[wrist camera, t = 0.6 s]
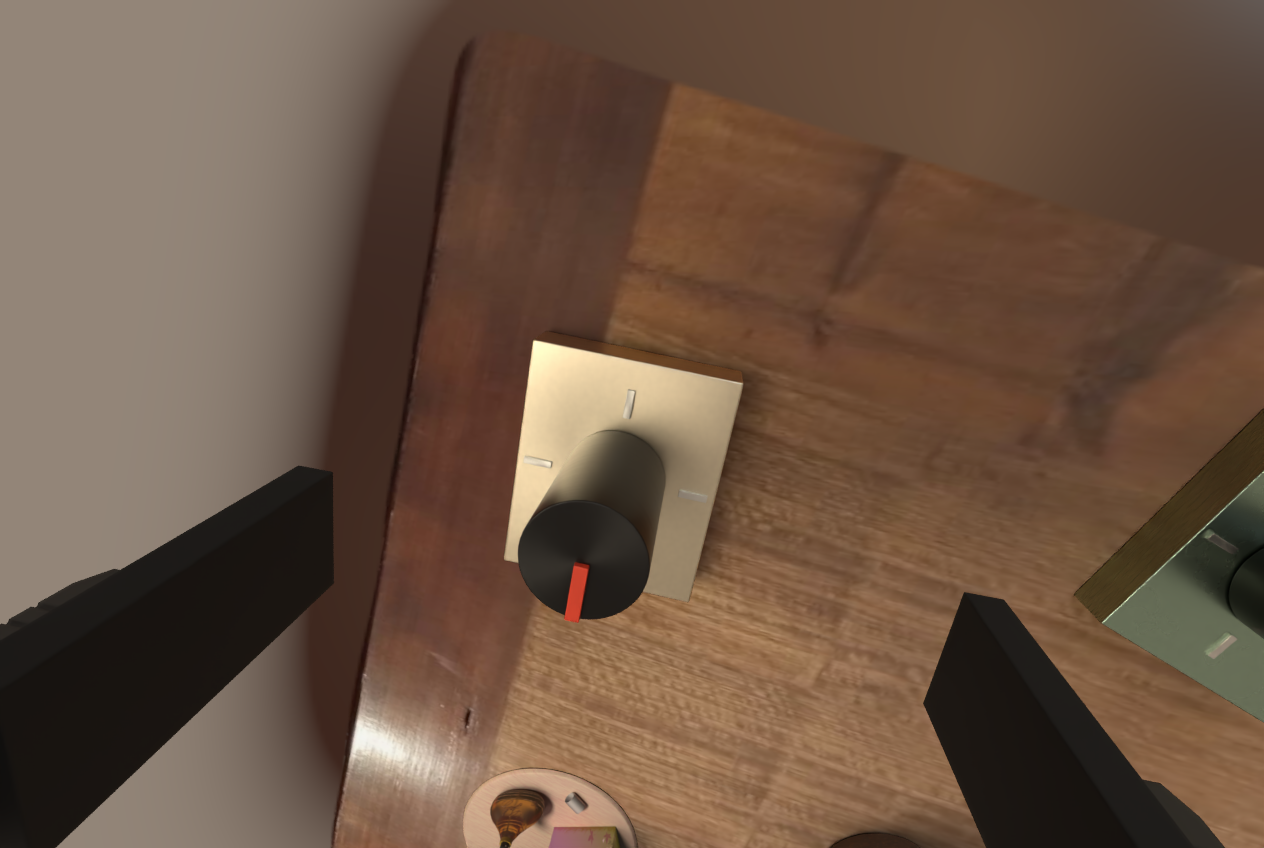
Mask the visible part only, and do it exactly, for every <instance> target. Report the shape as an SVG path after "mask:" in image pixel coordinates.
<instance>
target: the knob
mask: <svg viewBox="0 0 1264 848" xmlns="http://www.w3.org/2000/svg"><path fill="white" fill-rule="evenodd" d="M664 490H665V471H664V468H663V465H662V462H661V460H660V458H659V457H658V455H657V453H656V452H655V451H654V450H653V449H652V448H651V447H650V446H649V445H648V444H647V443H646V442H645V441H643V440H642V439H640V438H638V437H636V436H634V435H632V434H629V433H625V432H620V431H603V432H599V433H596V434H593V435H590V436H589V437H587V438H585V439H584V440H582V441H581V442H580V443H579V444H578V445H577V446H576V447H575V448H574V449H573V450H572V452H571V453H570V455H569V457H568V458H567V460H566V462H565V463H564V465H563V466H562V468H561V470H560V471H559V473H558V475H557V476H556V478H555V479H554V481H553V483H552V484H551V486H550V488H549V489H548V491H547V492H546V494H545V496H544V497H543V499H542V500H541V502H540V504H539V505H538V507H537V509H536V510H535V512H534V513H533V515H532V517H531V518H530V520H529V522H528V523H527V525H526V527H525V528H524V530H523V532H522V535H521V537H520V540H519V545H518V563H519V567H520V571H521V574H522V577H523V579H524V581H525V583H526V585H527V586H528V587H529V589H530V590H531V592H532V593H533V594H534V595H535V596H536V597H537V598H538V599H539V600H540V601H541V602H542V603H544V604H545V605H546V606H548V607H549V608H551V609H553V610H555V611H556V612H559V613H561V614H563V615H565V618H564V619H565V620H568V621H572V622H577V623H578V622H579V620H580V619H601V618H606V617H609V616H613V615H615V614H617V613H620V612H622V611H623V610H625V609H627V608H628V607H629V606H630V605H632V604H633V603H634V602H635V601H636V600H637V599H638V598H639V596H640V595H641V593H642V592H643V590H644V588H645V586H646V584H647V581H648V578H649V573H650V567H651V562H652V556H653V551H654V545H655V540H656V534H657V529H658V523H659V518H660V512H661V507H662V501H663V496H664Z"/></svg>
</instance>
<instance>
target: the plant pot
mask: <svg viewBox="0 0 1264 848" xmlns="http://www.w3.org/2000/svg"><path fill="white" fill-rule="evenodd" d="M831 848H920V847H919V846H918V845H916V844H914V843H913V842H911V841H909V840H907V839H904V838H901V837H898V836H893V835H889V834H878V833H871V834H861V835H857V836H853V837H850V838H847V839H845V840H842V841H840V842H838V843H837V844H835V845H834V846H832V847H831Z"/></svg>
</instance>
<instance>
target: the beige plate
mask: <svg viewBox="0 0 1264 848" xmlns="http://www.w3.org/2000/svg"><path fill="white" fill-rule="evenodd" d="M463 831H464V837H465V841H466V844H467V847H468V848H637V840H636V835H635V832H634V829H633V827H632V824H631V822H630V821H629V819H628V817H627V816H626V814H625V813H624V811H623V810H622V809H621V807H620V806H619V805H618V804H617V803H616V802H615V801H614V800H613V799H612V798H611V797H610V796H608V795H607V794H606V793H605V792H603V791H602V790H601V789H599V788H598V787H596V786H594V785H593V784H591V783H589V782H587V781H585V780H583V779H581V778H578V777H576V776H573V775H570V774H567V773H563V772H559V771H554V770H548V769H519V770H513V771H509V772H505V773H503V774H500V775H497V776H495V777H493V778H491V779H490V780H488V781H486V782H485V783H484V784H482V785H481V786H480V787H479V788H478V789H477V790H476V791H475V792H474V793H473V794H472V796H471V797H470V799H469V801H468V803H467V805H466V807H465V811H464V816H463Z"/></svg>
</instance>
